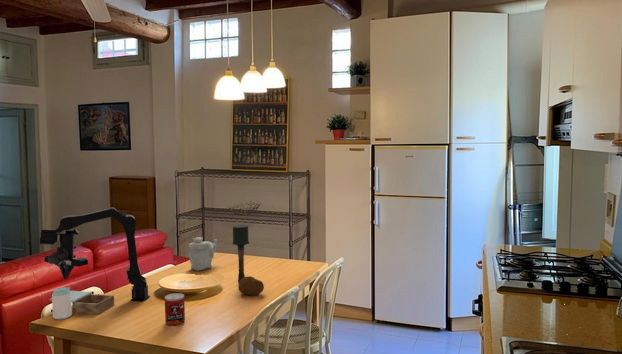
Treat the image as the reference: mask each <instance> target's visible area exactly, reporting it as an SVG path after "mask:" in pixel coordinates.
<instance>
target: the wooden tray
mask: <svg viewBox="0 0 622 354" xmlns="http://www.w3.org/2000/svg"><path fill="white" fill-rule="evenodd" d="M71 305H72V314H79V313H80V314H82V315H83V314H84V315H100V314H102V313H103V312H105V311H107V310H109V309H110V308H112V307H114V306H115V295H110V294H93V293H92V294H90V295H88V296H86V297H84V298H82V299H80V300H78V301H76V302H71ZM80 314H79V315H80Z"/></svg>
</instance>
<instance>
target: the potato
mask: <svg viewBox="0 0 622 354" xmlns="http://www.w3.org/2000/svg"><path fill="white" fill-rule="evenodd" d="M264 289H265V285H264V283H263V281H262V280H259V279H257V278H255V277H253V276H250V275H249V276H245V277H243V278H242V279H241V280H240V282H239V283H238V292H240V293H241V294H244V295H246V296H249V297H250V296H251V297H252V296H257V295H260V294H261V293H262V292H263V291H264Z"/></svg>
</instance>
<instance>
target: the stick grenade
mask: <svg viewBox="0 0 622 354" xmlns="http://www.w3.org/2000/svg"><path fill="white" fill-rule="evenodd" d="M231 243H232V245H233V246H236V247H237V257H238V276H237V283H238V284H239V282H240V280H241V279H242V278H243V277H246V275H245V259H244V258H245V245H249V244H250V241H249V226H248V225H246V224H236V225H234V226H232V242H231Z"/></svg>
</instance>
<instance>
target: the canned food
mask: <svg viewBox="0 0 622 354" xmlns="http://www.w3.org/2000/svg"><path fill="white" fill-rule="evenodd" d="M185 307H186V306H185V294H183V293H180V292H178V293H177V292H176V293H174V292H173V293H169V294H167V295H165V296H164V317H165V319H164V320H165V324H166V325H167V326H168V327H176V326H181V325H183V324H184V323H185V320H186V316H185V315H186V313H185V311H186V310H185V309H186V308H185Z"/></svg>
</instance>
